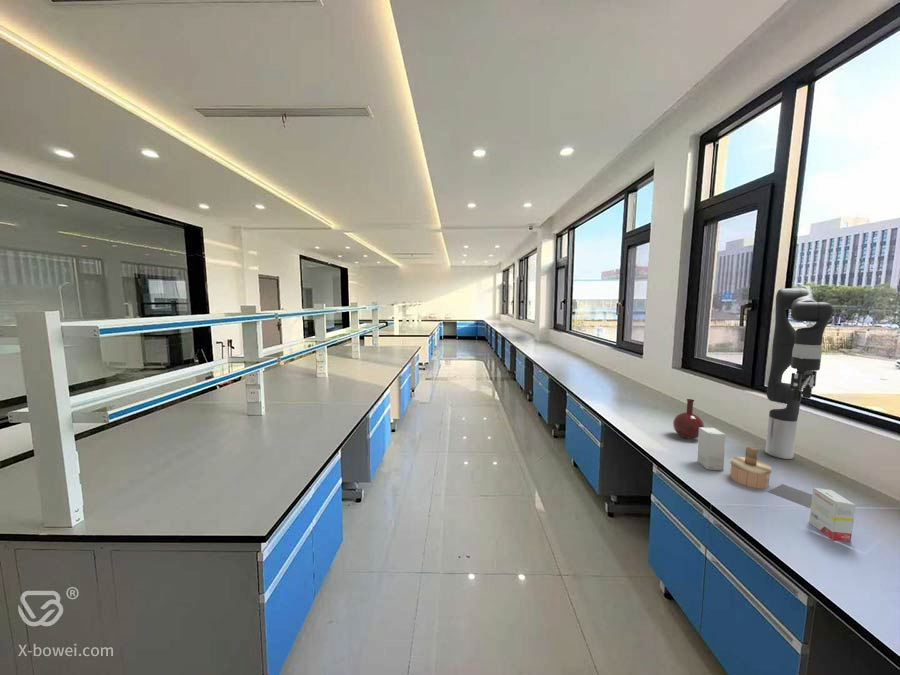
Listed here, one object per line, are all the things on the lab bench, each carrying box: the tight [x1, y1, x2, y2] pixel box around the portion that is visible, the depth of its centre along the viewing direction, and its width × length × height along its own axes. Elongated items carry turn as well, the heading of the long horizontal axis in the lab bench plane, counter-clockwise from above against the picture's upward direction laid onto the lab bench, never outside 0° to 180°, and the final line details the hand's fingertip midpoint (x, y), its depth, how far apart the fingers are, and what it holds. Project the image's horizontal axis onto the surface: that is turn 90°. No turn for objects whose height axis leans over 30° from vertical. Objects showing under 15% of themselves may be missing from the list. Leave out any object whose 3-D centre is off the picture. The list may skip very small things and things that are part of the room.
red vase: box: [672, 398, 706, 440], centre depth 176 cm, size 13×13×20 cm
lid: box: [730, 446, 773, 475], centre depth 133 cm, size 12×12×7 cm
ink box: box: [808, 487, 856, 542], centre depth 104 cm, size 9×5×12 cm, turn 168°
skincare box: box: [696, 427, 726, 472], centre depth 146 cm, size 8×7×16 cm
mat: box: [767, 483, 813, 509], centre depth 123 cm, size 12×12×1 cm
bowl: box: [729, 463, 771, 489], centre depth 134 cm, size 11×11×6 cm
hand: (801, 399), depth 129 cm, fingers open, 8 cm apart
